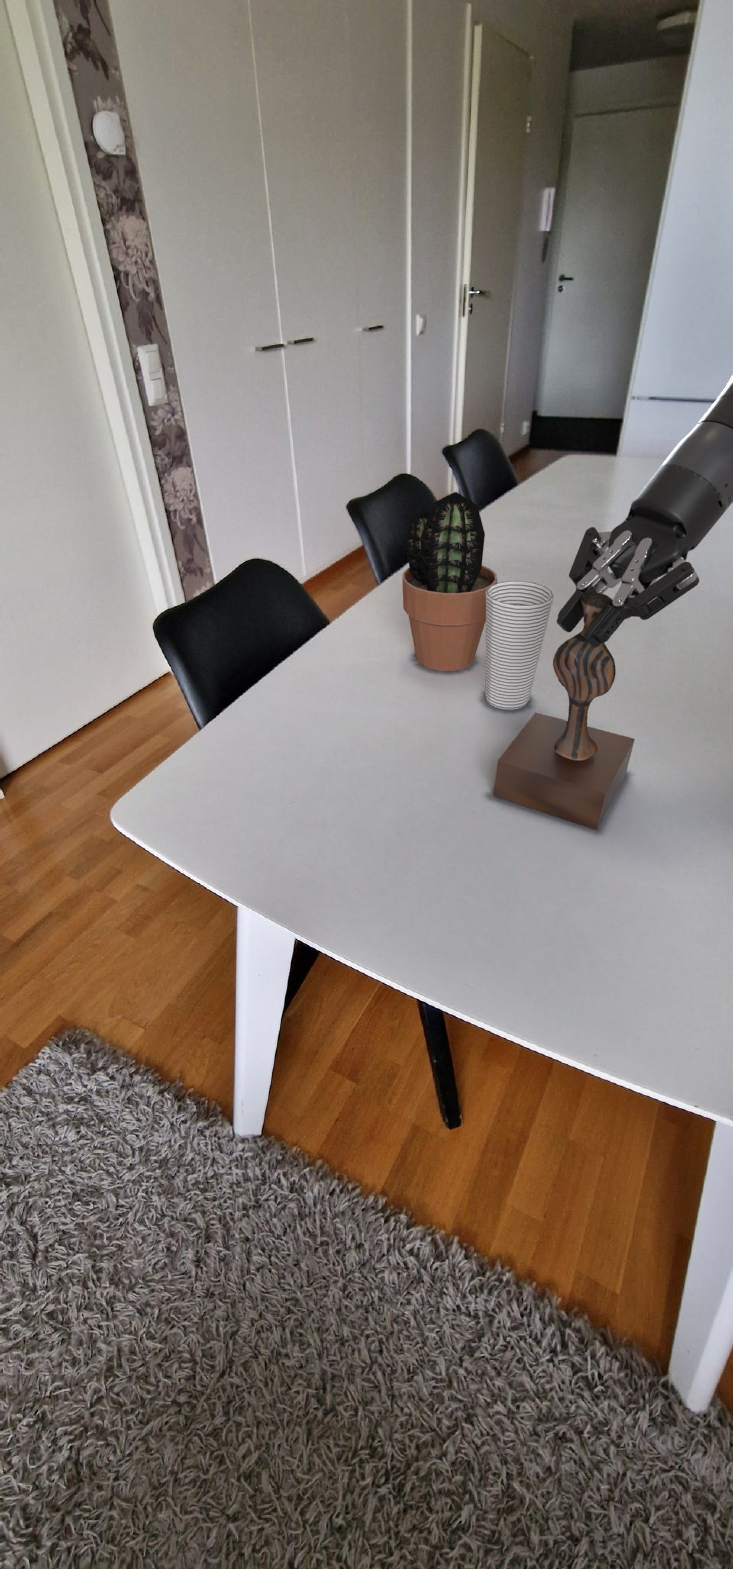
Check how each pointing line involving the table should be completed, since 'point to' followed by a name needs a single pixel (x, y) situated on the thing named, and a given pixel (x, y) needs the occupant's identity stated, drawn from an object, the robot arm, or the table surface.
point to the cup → (514, 640)
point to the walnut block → (562, 772)
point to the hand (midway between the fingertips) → (576, 634)
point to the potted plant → (446, 583)
